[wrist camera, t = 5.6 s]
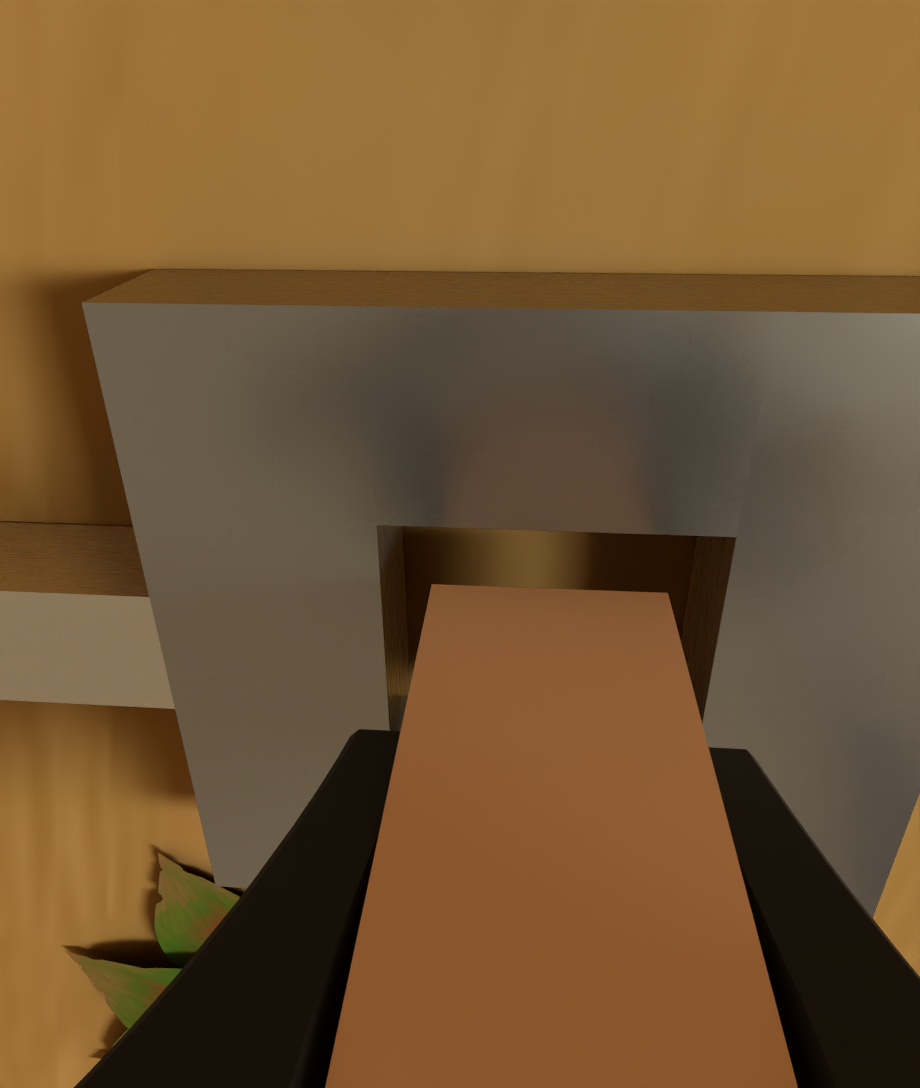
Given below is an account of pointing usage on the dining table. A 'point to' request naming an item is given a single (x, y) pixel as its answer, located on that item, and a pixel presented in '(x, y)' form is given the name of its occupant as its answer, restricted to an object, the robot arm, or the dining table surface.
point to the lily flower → (162, 941)
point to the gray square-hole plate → (491, 514)
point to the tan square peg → (555, 866)
